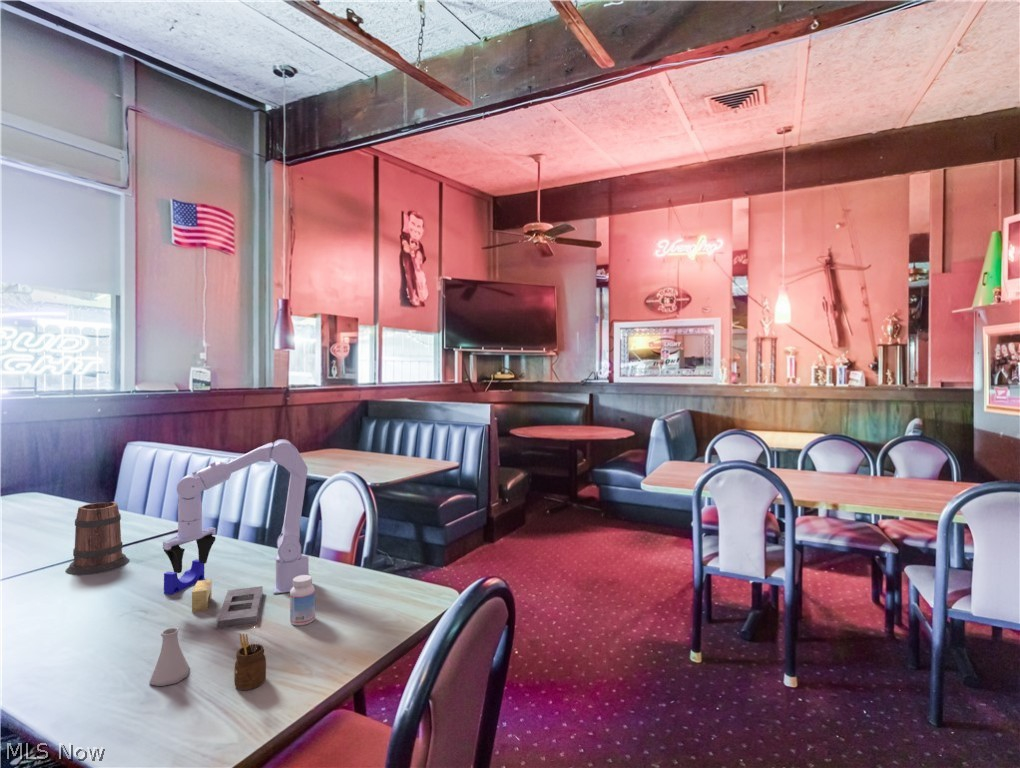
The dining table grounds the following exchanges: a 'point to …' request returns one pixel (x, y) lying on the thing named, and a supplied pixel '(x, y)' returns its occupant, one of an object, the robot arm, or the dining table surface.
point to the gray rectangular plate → (240, 607)
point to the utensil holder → (249, 664)
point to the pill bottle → (302, 600)
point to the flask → (170, 661)
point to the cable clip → (183, 578)
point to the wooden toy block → (201, 595)
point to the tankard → (97, 540)
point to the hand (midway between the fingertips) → (190, 567)
